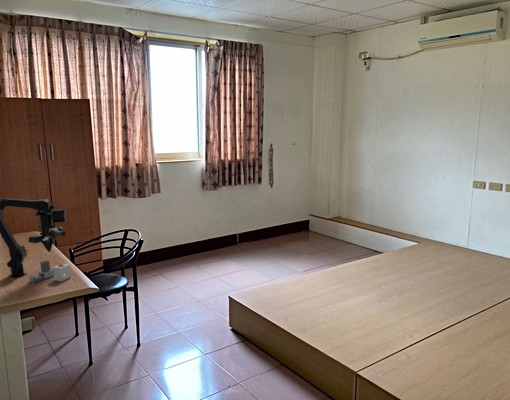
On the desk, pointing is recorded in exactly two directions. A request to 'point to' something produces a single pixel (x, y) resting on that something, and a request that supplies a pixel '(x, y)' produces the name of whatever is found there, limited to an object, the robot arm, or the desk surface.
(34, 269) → the desk surface
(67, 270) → the cabinet
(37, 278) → the rail
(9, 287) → the desk surface
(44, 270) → the carriage
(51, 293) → the desk surface
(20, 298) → the desk surface
